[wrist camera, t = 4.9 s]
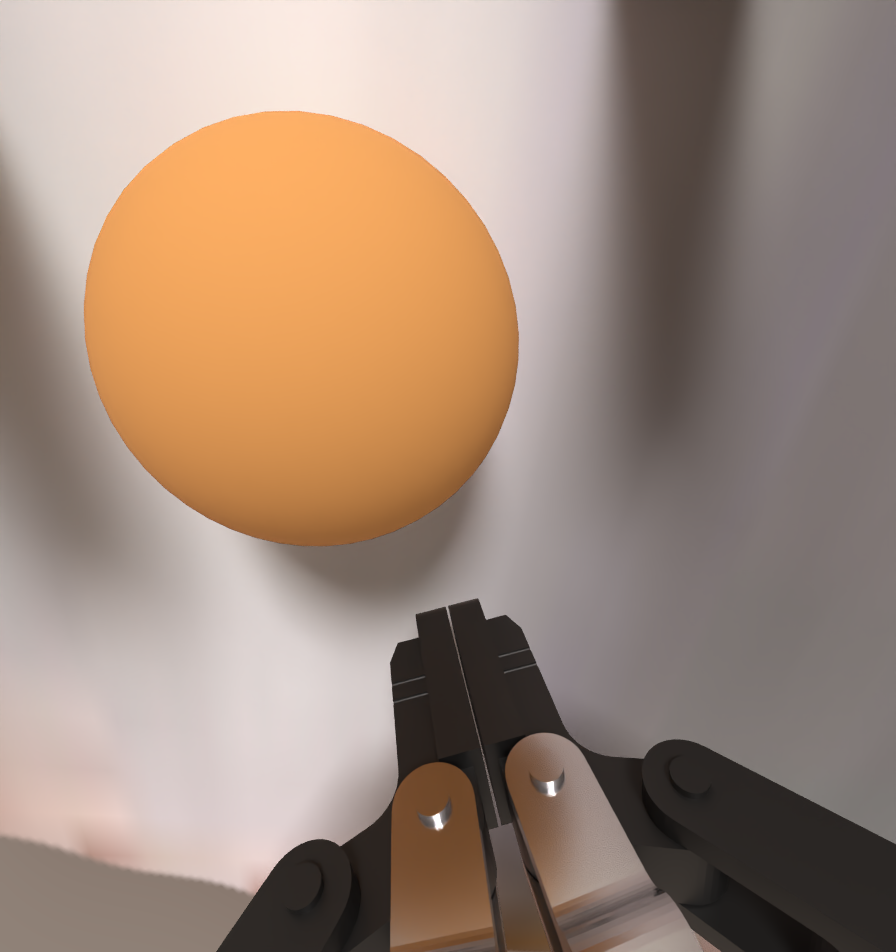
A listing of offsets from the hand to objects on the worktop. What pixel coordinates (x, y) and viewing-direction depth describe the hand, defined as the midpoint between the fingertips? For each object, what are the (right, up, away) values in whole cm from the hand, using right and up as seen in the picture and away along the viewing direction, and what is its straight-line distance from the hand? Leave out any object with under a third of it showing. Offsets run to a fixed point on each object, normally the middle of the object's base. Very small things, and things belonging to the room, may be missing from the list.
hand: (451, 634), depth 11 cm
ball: (-2, +6, -4) cm, 7 cm away
